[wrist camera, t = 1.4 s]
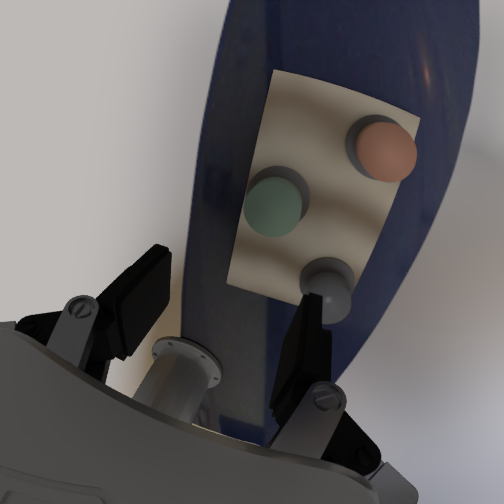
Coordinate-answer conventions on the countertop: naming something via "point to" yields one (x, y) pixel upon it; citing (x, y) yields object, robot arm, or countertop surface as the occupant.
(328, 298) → the charcoal button
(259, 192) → the green button
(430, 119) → the countertop surface
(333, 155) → the button panel
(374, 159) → the terracotta button
